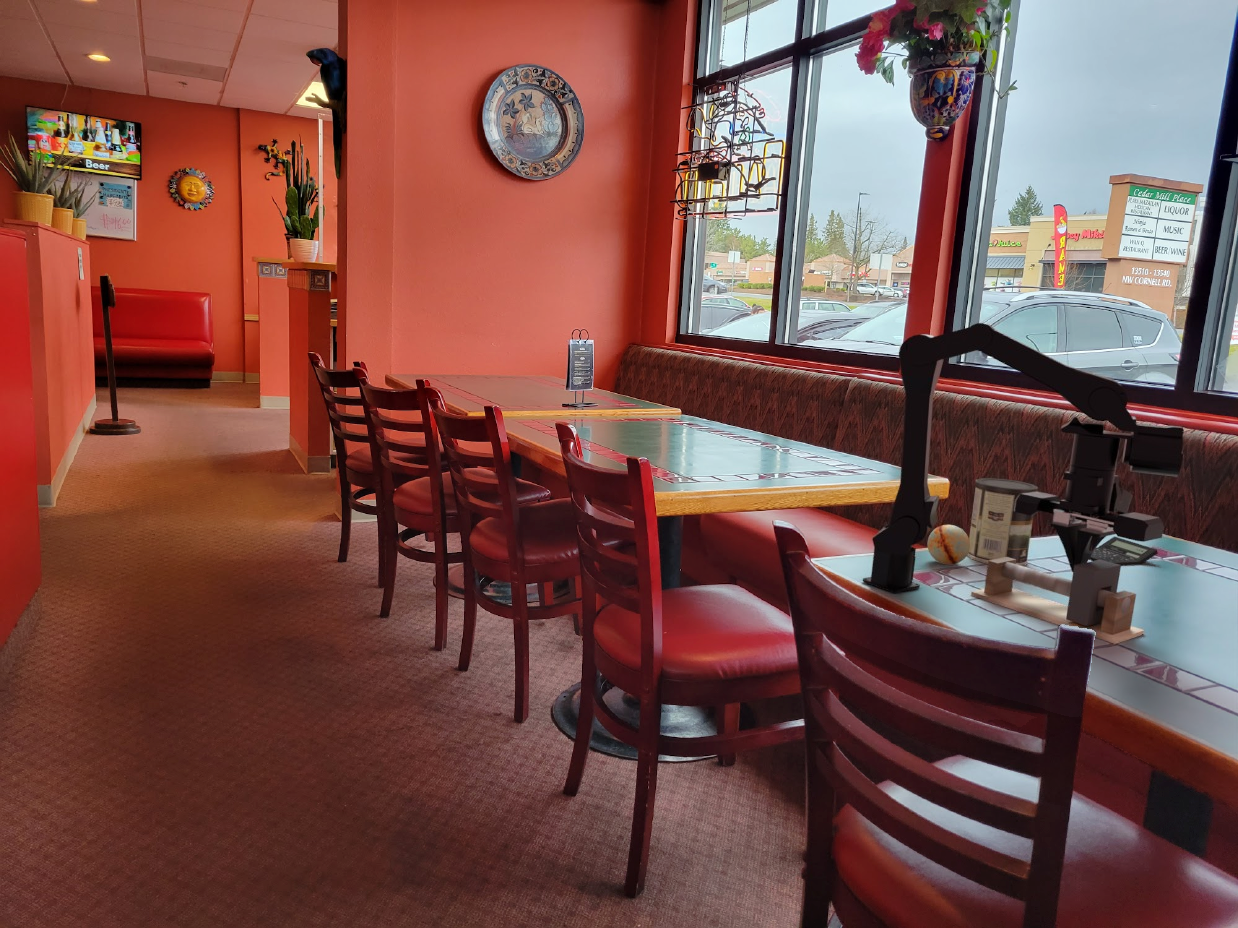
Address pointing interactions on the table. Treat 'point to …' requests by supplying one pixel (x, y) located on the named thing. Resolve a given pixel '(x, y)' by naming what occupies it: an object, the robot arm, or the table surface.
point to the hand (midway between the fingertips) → (1076, 572)
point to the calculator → (1123, 552)
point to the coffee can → (999, 521)
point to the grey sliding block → (1091, 590)
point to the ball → (948, 544)
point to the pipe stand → (1002, 593)
